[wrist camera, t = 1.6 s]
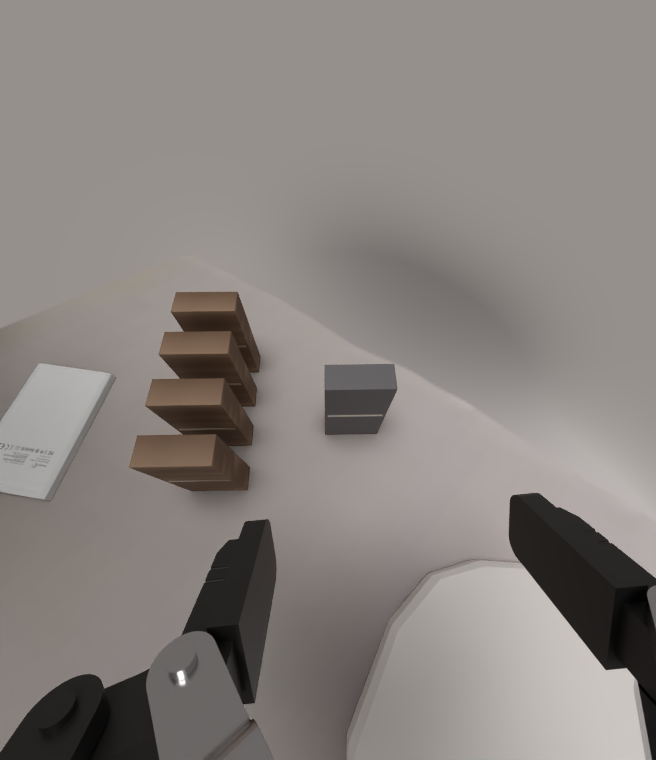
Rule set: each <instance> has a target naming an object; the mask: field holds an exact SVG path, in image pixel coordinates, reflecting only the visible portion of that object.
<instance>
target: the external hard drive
mask: <svg viewBox="0 0 656 760" xmlns="http://www.w3.org/2000/svg"><path fill="white" fill-rule="evenodd" d="M115 379H116V377H114V376H113V375H112V374H109V373H105V372H98V371H92V370H85V369H78V368H71V367H65V366H58V365H51V364H43V363H39V364H38V365H37V367H36V368H35V370H34V371H33V373H32V374H31V376H30V377H29V379H28V380H27V382H26V383H25V385H24V386H23V388H22V389H21V391H20V392H19V394H18V396H17V397H16V399H15V400H14V402H13V403H12V405H11V406H10V408H9V409H8V411H7V412H6V414H5V415H4V417H3V418H2V420H1V421H0V492H3V493H9V494H14V495H20V496H25V497H31V498H36V499H42V500H49V501H51V499H52V498H53V496H54V494H55V492H56V490H57V488H58V486H59V485H60V483H61V481H62V479H63V477H64V475H65V473H66V471H67V469H68V468H69V466H70V464H71V462H72V460H73V458H74V456H75V454H76V453H77V451H78V449H79V447H80V445H81V443H82V441H83V439H84V438H85V436H86V434H87V432H88V430H89V428H90V426H91V424H92V422H93V420H94V419H95V417H96V415H97V413H98V411H99V409H100V407H101V405H102V403H103V401H104V400H105V398H106V396H107V394H108V392H109V390H110V388H111V386H112V384H113V382H114V381H115Z"/></svg>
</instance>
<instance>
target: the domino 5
mask: <svg viewBox="0 0 656 760" xmlns="http://www.w3.org/2000/svg"><path fill="white" fill-rule="evenodd" d="M396 391H397V382H396V375H395V367H394V364H365V365H325V435H334V434H377V432H378V429H379V427H380V425H381V423H382V421H383V419H384V417H385V415H386V412H387V410H388V408H389V406H390V404H391V402H392V400H393V397H394V395H395V393H396Z"/></svg>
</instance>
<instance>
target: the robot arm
mask: <svg viewBox="0 0 656 760" xmlns="http://www.w3.org/2000/svg"><path fill="white" fill-rule="evenodd" d="M509 540H510V544H511V547H512V550H513V552H514V554H515V555H516V557H517V558H518V560H519V561H520V562H521V563H522V565H523V566H524V567H525V569H526V570H527V571H528V572H529V574H530V575H531V576H532V577H533V579H534V580H535V581H536V582H537V584H538V585H539V586H540V588H541V589H542V590H543V591H544V593H545V594H546V595H547V596H548V598H549V599H550V600H551V601H552V603H553V604H554V605H555V607H556V608H557V609H558V610H559V612H560V613H561V614H562V615H563V617H564V618H565V619H566V620H567V622H568V623H569V624H570V626H571V627H572V628H573V629H574V631H575V632H576V633H577V634H578V636H579V637H580V638H581V639H582V641H583V642H584V643H585V645H586V646H587V647H588V648H589V650H590V651H591V652H592V653H593V655H594V656H595V657H596V658H597V660H598V661H599V662H600V664H601V665H602V666H603V667H604V669H605V670H613V669H624V668H627V669H628V670H629V672H630V673H631V674H632V675H633V676H634V677H635V679H634V695H635V701H636V707H637V712H638V718H639V724H640V730H641V736H642V742H643V748H644V753H645V759H646V760H656V578H655V577H653V576H652V575H651V574H650V573H648V572H647V571H646V570H645V569H643V568H642V567H641V566H640V565H638V564H637V563H636V562H635V561H633V560H632V559H631V558H630V557H628V556H627V555H626V554H625V553H623V552H622V551H621V550H620V549H618V548H617V547H616V546H615V545H613V544H612V543H609V541H608V540H607V539H606V538H605V537H603V536H602V535H601V534H600V533H598V532H597V533H596V531H595V529H594V528H592V527H591V526H590V525H589V524H587V523H586V522H585V521H584V520H582V519H581V518H580V517H578V516H576V515H574V514H572V513H570V512H568V511H566V510H564V509H562V508H560V507H559V508H556V507H555V506H554V505H553V504H551V503H550V502H549V501H548V500H547V499H546V498H544V497H543V496H542V495H541V494H539V493H530V494H520V495H513V496H512V497H511V499H510V515H509ZM275 581H276V557H275V551H274V544H273V538H272V532H271V526H270V522H269V520H268V519H266V520H256V521H246V522H245V523H244V526H243V528H242V531H241V534H240V537H239V539H235V540H229V541H228V542H227V543H226V544H225V545H224V546H223V547H222V548H221V549H220V550H219V552H218V553H217V555H216V557H215V559H214V561H213V564H212V566H211V570H210V571H209V573H208V575H207V578H206V582H205V583H204V585H203V587H202V589H201V591H200V594H199V596H198V598H197V601H196V603H195V605H194V608H193V610H192V612H191V615H190V617H189V619H188V622H187V624H186V626H185V628H184V631H183V633H182V635H181V636H180V637H178V638H176V639H175V640H173V641H172V642H171V643H169V644H168V645H167V646H166V647H165V648H164V649H163V650H162V651H161V652H160V653H159V655H158V656H157V657H156V659H155V660H154V662H153V664H152V665H151V667H150V669H148V670H146V671H144V672H142V673H140V674H138V675H136V676H133V677H131V678H129V679H126V680H124V681H122V682H119V683H117V684H115V685H112V686H110V687H108V688H105V689H104V687H103V684H102V681H101V679H100V678H99V677H97V676H95V675H91V674H86V675H80V676H77V677H74V678H72V679H70V680H68V681H66V682H64V683H62V684H61V685H59V686H57V687H56V688H55V689H53V690H52V691H50V692H49V693H48V694H47V695H46V696H44V697H43V698H42V699H41V700H40V701H39V702H38V703H37V704H36V705H35V706H34V707H33V708H32V709H31V710H30V712H29V713H28V714H27V715H26V717H25V718H24V719H23V721H22V722H21V723H20V725H19V726H18V728H17V729H16V731H15V732H14V734H13V735H12V736H11V738H10V739H9V741H8V742H7V744H6V745H5V747H4V748H3V750H2V751H1V752H0V760H274V759H273V757H272V755H271V752H270V750H269V748H268V746H267V744H266V741H265V739H264V737H263V735H262V733H261V731H260V729H259V727H258V725H257V723H256V722H255V720H254V719H252V720H250V718H249V716H248V714H247V712H246V710H245V708H244V705H243V704H251V703H255V698H256V692H257V686H258V680H259V675H260V669H261V663H262V657H263V651H264V646H265V640H266V634H267V628H268V622H269V616H270V611H271V605H272V599H273V593H274V587H275Z"/></svg>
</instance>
